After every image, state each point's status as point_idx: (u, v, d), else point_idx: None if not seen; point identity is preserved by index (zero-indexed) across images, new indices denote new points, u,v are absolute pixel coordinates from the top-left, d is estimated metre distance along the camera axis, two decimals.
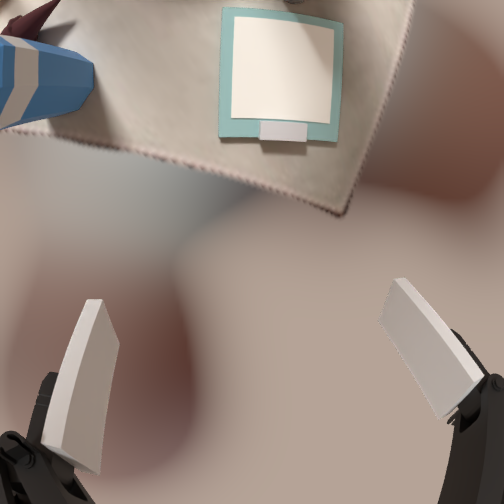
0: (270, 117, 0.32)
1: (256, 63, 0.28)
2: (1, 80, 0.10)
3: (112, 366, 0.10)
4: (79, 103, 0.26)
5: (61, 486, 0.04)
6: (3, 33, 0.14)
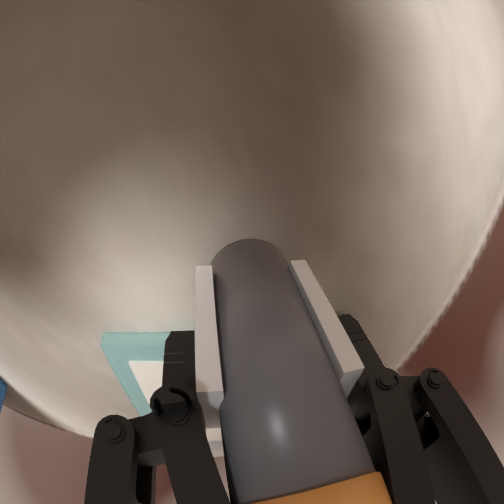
0: (219, 439, 0.23)
1: None
2: None
3: None
4: (3, 400, 0.17)
5: None
6: None
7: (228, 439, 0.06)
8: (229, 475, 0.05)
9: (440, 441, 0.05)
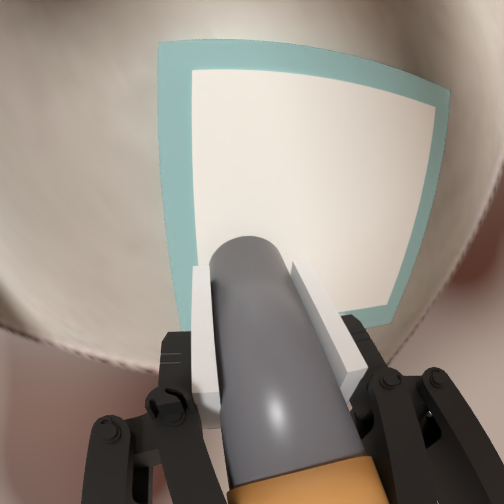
0: None
1: (255, 210, 0.14)
2: None
3: None
4: None
5: (206, 450, 0.06)
6: None
7: (226, 424, 0.07)
8: (228, 459, 0.06)
9: (442, 440, 0.05)
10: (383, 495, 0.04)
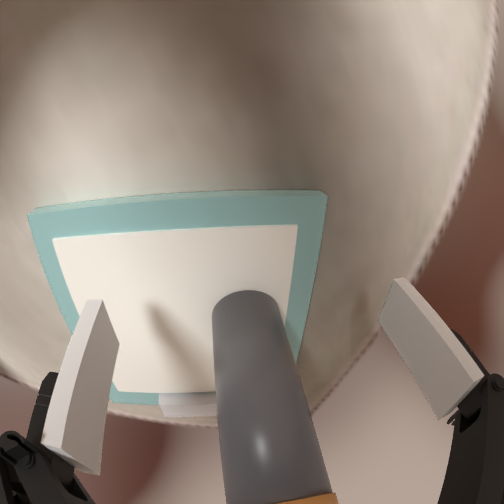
0: (174, 391, 0.20)
1: (126, 329, 0.16)
2: None
3: (112, 366, 0.10)
4: None
5: (61, 486, 0.04)
6: None
7: (225, 463, 0.08)
8: (226, 488, 0.07)
9: None
10: None
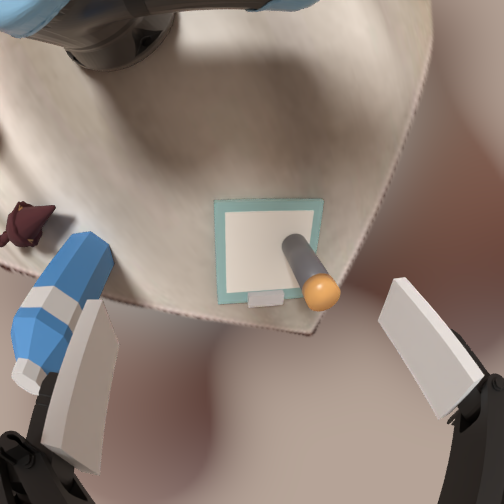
0: (256, 289, 0.46)
1: (245, 252, 0.42)
2: None
3: (112, 366, 0.10)
4: None
5: (61, 486, 0.04)
6: (10, 232, 0.28)
7: (300, 273, 0.34)
8: (301, 280, 0.34)
9: None
10: (335, 283, 0.32)
